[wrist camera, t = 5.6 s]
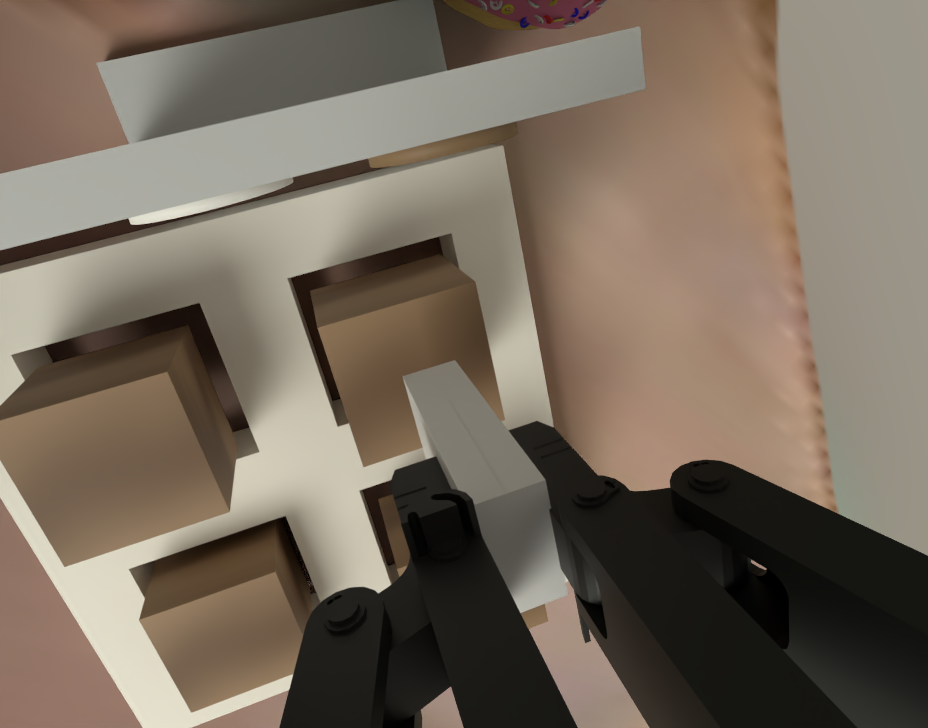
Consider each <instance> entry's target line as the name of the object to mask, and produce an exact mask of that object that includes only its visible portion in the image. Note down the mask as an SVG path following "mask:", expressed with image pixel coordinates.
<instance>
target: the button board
mask: <svg viewBox="0 0 928 728" xmlns="http://www.w3.org/2000/svg"><path fill="white" fill-rule="evenodd" d="M436 237H439V239H440V244H441V248H442V252H443V257H445V258H446V259H447V260H448V261H450V262H451V263H452V264H454V265H455V266H456V267H457V268H459V269H460V270H461V271H462V272H464V273H465V274H466V275H468V276H469V277H470V278H471V279H473V280H474V281H475V282H476V287H477V291H478V296H479V301H480V305H481V310H482V315H483V319H484V324H485V329H486V333H487V338H488V343H489V347H490V352H491V357H492V361H493V366H494V370H495V375H496V380H497V384H498V389H499V394H500V398H501V403H502V408H503V412H504V417H505V420H504V421H501V422H502V423H503V424H504V426H505V427H506V428H507V429H508V430H511V429H514V428H517V427H520V426H523V425H526V424H529V423H532V422H535V421H539V422H541V423H544V424H546V425H549V426H551V427H554V425H553V420H552V414H551V409H550V403H549V397H548V392H547V386H546V381H545V375H544V370H543V364H542V358H541V353H540V347H539V342H538V336H537V331H536V325H535V319H534V314H533V308H532V303H531V297H530V292H529V286H528V281H527V275H526V269H525V264H524V258H523V253H522V247H521V242H520V236H519V230H518V225H517V219H516V214H515V208H514V203H513V197H512V191H511V186H510V180H509V175H508V169H507V164H506V158H505V153H504V147H503V145H495V144H489V145H486V146H483V147H479V148H475V149H472V150H468V151H464V152H460V153H456V154H452V155H448V156H443V157H439V158H434V159H430V160H425V161H420V162H415V163H409V164H404V165H397V166H391V167H387V168H383V169H379V170H375V171H371V172H367V173H364V174H360V175H356V176H352V177H348V178H344V179H340V180H336V181H332V182H328V183H324V184H320V185H316V186H312V187H308V188H304V189H300V190H297V191H293V192H289V193H285V194H281V195H277V196H273V197H269V198H265V199H261V200H257V201H253V202H249V203H245V204H241V205H237V206H233V207H229V208H226V209H222V210H218V211H214V212H210V213H206V214H202V215H198V216H194V217H190V218H186V219H182V220H178V221H174V222H170V223H166V224H162V225H159V226H155V227H151V228H147V229H143V230H139V231H135V232H131V233H127V234H123V235H119V236H115V237H111V238H107V239H103V240H99V241H95V242H91V243H88V244H84V245H80V246H76V247H72V248H68V249H64V250H60V251H56V252H52V253H48V254H44V255H40V256H36V257H32V258H28V259H24V260H20V261H17V262H13V263H9V264H5V265H1V266H0V405H1V404H2V403H3V402H4V401H5V400H6V399H7V398H8V397H9V396H10V395H11V394H12V393H13V392H14V391H15V390H16V389H17V388H18V387H19V386H20V385H21V384H22V383H23V382H24V381H25V380H26V379H27V378H28V377H29V376H30V375H31V374H32V373H33V372H34V371H35V370H36V369H37V368H38V367H41V366H44V365H48V364H51V363H53V361H52V359H51V357H50V356H49V354H48V352H47V350H46V348H45V345H49V344H52V343H56V342H59V341H63V340H67V339H70V338H74V337H78V336H81V335H85V334H88V333H92V332H96V331H99V330H103V329H106V328H110V327H114V326H117V325H121V324H125V323H128V322H132V321H135V320H139V319H143V318H146V317H150V316H153V315H157V314H161V313H164V312H168V311H172V310H175V309H179V308H182V307H186V306H190V305H193V304H197V303H200V305H201V308H202V310H203V313H204V315H205V318H206V320H207V323H208V325H209V328H210V330H211V333H212V335H213V338H214V340H215V342H216V345H217V347H218V350H219V352H220V355H221V357H222V360H223V362H224V365H225V367H226V370H227V372H228V375H229V377H230V380H231V382H232V385H233V387H234V390H235V392H236V394H237V397H238V399H239V402H240V404H241V407H242V409H243V412H244V414H245V417H246V419H247V422H248V424H249V428H246V429H242V430H239V431H236V432H233V434H234V437H235V439H236V441H237V444H238V448H237V456H236V465H235V473H234V481H233V489H232V498H231V506H230V512H228V513H225V514H222V515H219V516H216V517H213V518H210V519H207V520H204V521H201V522H198V523H195V524H192V525H189V526H186V527H183V528H180V529H177V530H174V531H171V532H168V533H165V534H162V535H159V536H156V537H153V538H150V539H147V540H144V541H141V542H139V543H136V544H133V545H130V546H127V547H124V548H121V549H118V550H115V551H112V552H109V553H106V554H103V555H100V556H97V557H94V558H91V559H88V560H85V561H82V562H79V563H76V564H73V565H70V566H67V567H64V566H63V564H62V562H61V561H60V559H59V557H58V556H57V554H56V552H55V551H54V549H53V547H52V546H51V544H50V542H49V541H48V539H47V537H46V536H45V534H44V532H43V531H42V529H41V527H40V526H39V524H38V522H37V521H36V519H35V517H34V516H33V514H32V512H31V511H30V509H29V507H28V506H27V504H26V502H25V501H24V499H23V497H22V496H21V494H20V492H19V491H18V489H17V487H16V486H15V484H14V483H13V481H12V479H11V478H10V476H9V474H8V473H7V471H6V469H5V468H4V466H3V464H2V463H1V461H0V498H1V499H2V501H3V503H4V504H5V506H6V508H7V509H8V511H9V512H10V514H11V516H12V517H13V519H14V520H15V522H16V524H17V525H18V527H19V528H20V530H21V532H22V533H23V535H24V537H25V538H26V540H27V541H28V543H29V545H30V546H31V548H32V549H33V551H34V553H35V554H36V556H37V558H38V559H39V561H40V562H41V564H42V566H43V567H44V569H45V570H46V572H47V574H48V575H49V577H50V579H51V580H52V582H53V583H54V585H55V587H56V588H57V590H58V591H59V593H60V595H61V596H62V598H63V599H64V601H65V603H66V604H67V606H68V608H69V609H70V611H71V612H72V614H73V616H74V617H75V619H76V620H77V622H78V624H79V625H80V627H81V629H82V630H83V632H84V633H85V635H86V637H87V638H88V640H89V641H90V643H91V645H92V646H93V648H94V650H95V651H96V653H97V654H98V656H99V658H100V659H101V661H102V662H103V664H104V666H105V667H106V669H107V670H108V672H109V674H110V675H111V677H112V679H113V680H114V682H115V683H116V685H117V687H118V688H119V690H120V691H121V693H122V695H123V696H124V698H125V700H126V701H127V703H128V704H129V706H130V708H131V709H132V711H133V712H134V714H135V716H136V717H137V719H138V721H139V722H140V724H141V725H142V727H143V728H191V727H194V726H197V725H199V724H202V723H204V722H207V721H209V720H212V719H215V718H217V717H220V716H222V715H225V714H228V713H230V712H233V711H235V710H238V709H240V708H243V707H246V706H248V705H251V704H253V703H256V702H259V701H261V700H264V699H266V698H269V697H272V696H274V695H277V694H279V693H282V692H284V691H287V690H289V689H290V685H291V681H292V677H293V674H292V675H289V676H286V677H284V678H281V679H279V680H276V681H273V682H271V683H268V684H266V685H263V686H260V687H258V688H255V689H253V690H250V691H247V692H245V693H242V694H239V695H237V696H234V697H232V698H229V699H226V700H224V701H221V702H219V703H216V704H213V705H211V706H208V707H206V708H203V709H200V710H198V711H195V712H192V713H191V711H190V710H189V708H188V706H187V704H186V702H185V701H184V699H183V697H182V695H181V694H180V692H179V690H178V688H177V687H176V685H175V683H174V681H173V680H172V678H171V676H170V674H169V672H168V671H167V669H166V667H165V665H164V664H163V662H162V660H161V658H160V657H159V655H158V653H157V651H156V649H155V648H154V646H153V644H152V642H151V641H150V639H149V637H148V635H147V634H146V632H145V630H144V628H143V627H142V625H141V623H140V621H139V618H140V614H141V611H142V607H143V604H144V600H145V596H146V593H147V589H148V586H149V582H150V578H151V575H152V571H153V568H154V564H155V560H157V559H160V558H163V557H166V556H169V555H172V554H174V553H177V552H180V551H183V550H186V549H189V548H192V547H195V546H198V545H201V544H204V543H207V542H210V541H213V540H216V539H219V538H222V537H224V536H227V535H230V534H233V533H236V532H239V531H242V530H245V529H248V528H251V527H254V526H257V525H260V524H263V523H266V522H269V521H272V520H275V519H277V518H280V517H283V516H286V518H287V521H288V523H289V526H290V528H291V531H292V533H293V536H294V538H295V541H296V543H297V546H298V548H299V551H300V553H301V555H302V558H303V560H304V563H305V565H306V568H307V570H308V573H309V575H310V578H311V580H312V583H313V585H314V588H315V590H316V592H315V593H312V594H310V596H311V609H312V611H313V610H314V609H315V608H316V607H317V606H318V605H319V604H320V603H321V602H322V601H323V600H324V599H326V598H327V597H329V596H331V595H332V594H334V593H335V592H338V591H341V590H344V589H347V588H350V587H366V588H370V589H373V590H375V591H376V592H377V593H380V592H381V591H383V590H384V589H386V588H387V587H389V586H390V585H391V584H393V583H394V582H395V581H397V579H398V578H399V574H398V571H397V567H396V564H392V565H390V566H388V565H387V562H386V559H385V556H384V553H383V550H382V547H381V544H380V541H379V538H378V535H377V532H376V529H375V526H374V523H373V520H372V517H371V514H370V511H369V508H368V505H367V502H366V500H365V497H364V494H363V491H362V490H363V489H366V488H369V487H372V486H375V485H378V484H380V483H383V482H386V481H389V480H391V479H392V476H393V474H394V471H395V470H396V469H399V468H402V467H405V466H408V465H411V464H414V463H417V462H420V461H423V460H426V458H425V454H424V451H423V448H420V449H417V450H414V451H411V452H408V453H405V454H402V455H399V456H396V457H393V458H390V459H387V460H384V461H381V462H378V463H375V464H372V465H369V466H366V467H363V465H362V462H361V458H360V455H359V452H358V449H357V446H356V443H355V440H354V437H353V434H352V431H351V428H350V425H349V422H348V419H347V416H346V413H345V410H344V407H343V404H342V401H341V399H338V400H335V401H332V398H331V395H330V392H329V390H328V387H327V384H326V381H325V378H324V375H323V372H322V369H321V366H320V363H319V360H318V357H317V354H316V351H315V348H314V345H313V342H312V339H311V336H310V333H309V330H308V327H307V324H306V321H305V318H304V315H303V312H302V309H301V306H300V303H299V300H298V297H297V294H296V291H295V288H294V285H293V283H292V280H291V277H295V276H298V275H302V274H305V273H309V272H313V271H316V270H320V269H323V268H327V267H331V266H334V265H338V264H342V263H345V262H349V261H352V260H356V259H360V258H363V257H367V256H370V255H374V254H378V253H381V252H385V251H389V250H392V249H396V248H399V247H403V246H407V245H410V244H414V243H417V242H421V241H425V240H428V239H432V238H436ZM564 576H565V575H564ZM565 581H566V582H569V581H568V579H567V578H566V576H565Z"/></svg>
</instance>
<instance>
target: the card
mask: <svg viewBox="0 0 928 728" xmlns="http://www.w3.org/2000/svg"><path fill="white" fill-rule="evenodd" d="M96 64H97V66H98V69H99V71H100V74H101V76H102V79H103V81H104V83H105V86H106V88H107V91H108V93H109V96H110V98H111V101H112V103H113V106H114V108H115V110H116V113H117V115H118V118H119V120H120V123H121V125H122V128H123V130H124V133H125V135H126V137H127V140H128V142H129V144H127V145H123V146H119V147H114V148H110V149H106V150H101V151H97V152H93V153H88V154H84V155H80V156H75V157H71V158H67V159H62V160H58V161H54V162H49V163H45V164H41V165H36V166H32V167H28V168H23V169H19V170H15V171H10V172H6V173H2V174H0V250H3V249H7V248H11V247H15V246H19V245H23V244H27V243H31V242H35V241H39V240H43V239H47V238H51V237H55V236H59V235H63V234H67V233H71V232H75V231H79V230H83V229H87V228H91V227H95V226H99V225H103V224H107V223H111V222H115V221H119V220H123V219H127V218H128V219H129V221H130V224H132V225H140V224H148V223H154V222H159V221H165V220H170V219H174V218H179V217H183V216H188V215H192V214H196V213H200V212H204V211H208V210H212V209H216V208H220V207H223V206H227V205H231V204H234V203H238V202H241V201H245V200H248V199H251V198H255V197H258V196H261V195H264V194H267V193H270V192H273V191H276V190H278V189H281V188H283V187H286V186H288V185H290V184H292V183H293V182H294V181H293V177H296V176H300V175H304V174H308V173H312V172H316V171H320V170H324V169H328V168H332V167H336V166H340V165H344V164H348V163H352V162H356V161H360V160H364V159H368V160H369V164H370V167H372V168H381V167H390V166H397V165H404V164H409V163H415V162H420V161H425V160H430V159H434V158H439V157H443V156H448V155H452V154H456V153H460V152H464V151H468V150H472V149H475V148H479V147H483V146H486V145H489V144H493V143H496V142H499V141H502V140H505V139H507V138H510V137H512V136H514V135H516V134H517V133H518V132H517V127H516V121H520V120H524V119H528V118H532V117H536V116H540V115H544V114H548V113H552V112H556V111H560V110H564V109H568V108H572V107H576V106H580V105H584V104H588V103H592V102H596V101H600V100H604V99H608V98H612V97H616V96H620V95H624V94H628V93H632V92H636V91H640V90H644V89H646V87H645V76H644V65H643V54H642V43H641V31H640V26H639V27H634V28H630V29H626V30H621V31H617V32H613V33H608V34H604V35H600V36H595V37H591V38H587V39H582V40H578V41H574V42H569V43H565V44H561V45H556V46H552V47H548V48H543V49H539V50H535V51H530V52H526V53H522V54H517V55H513V56H509V57H504V58H500V59H496V60H491V61H487V62H483V63H478V64H474V65H470V66H465V67H461V68H457V69H452V70H448V71H447V67H446V62H445V57H444V52H443V47H442V42H441V38H440V33H439V28H438V23H437V18H436V13H435V8H434V3H433V0H397V1H392V2H388V3H383V4H378V5H373V6H368V7H364V8H359V9H354V10H349V11H344V12H340V13H335V14H330V15H325V16H320V17H316V18H311V19H306V20H301V21H296V22H292V23H287V24H282V25H277V26H272V27H268V28H263V29H258V30H253V31H248V32H244V33H239V34H234V35H229V36H224V37H220V38H215V39H210V40H205V41H200V42H196V43H191V44H186V45H181V46H176V47H172V48H167V49H162V50H157V51H152V52H148V53H143V54H138V55H133V56H128V57H124V58H119V59H114V60H109V61H104V62H100V63H96Z"/></svg>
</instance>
